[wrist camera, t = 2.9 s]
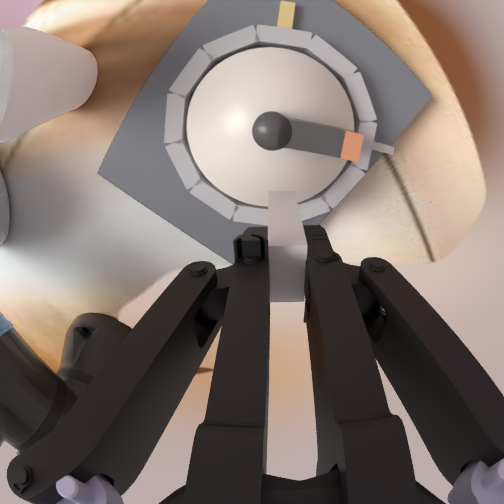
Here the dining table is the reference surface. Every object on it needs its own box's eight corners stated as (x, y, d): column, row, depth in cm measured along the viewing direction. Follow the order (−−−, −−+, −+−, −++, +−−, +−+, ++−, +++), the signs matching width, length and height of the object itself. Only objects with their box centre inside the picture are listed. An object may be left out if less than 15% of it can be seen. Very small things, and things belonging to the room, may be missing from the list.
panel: (266, 277, 29) (266, 294, 27) (104, 169, 24) (89, 177, 21) (428, 99, 19) (445, 101, 16) (255, -37, 14) (254, -52, 11)
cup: (79, 138, 22) (-11, 174, 12) (31, 99, 19) (-54, 121, 9) (126, 58, 18) (35, 45, 8) (70, 25, 16) (-17, 14, 5)
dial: (188, 189, 23) (170, 211, 19) (201, 46, 17) (184, 32, 13) (330, 208, 23) (345, 234, 19) (357, 69, 17) (381, 62, 13)
